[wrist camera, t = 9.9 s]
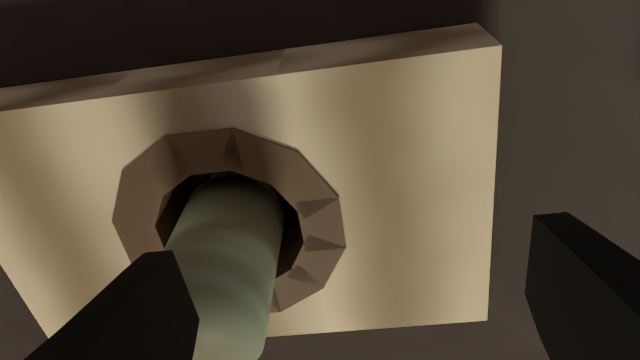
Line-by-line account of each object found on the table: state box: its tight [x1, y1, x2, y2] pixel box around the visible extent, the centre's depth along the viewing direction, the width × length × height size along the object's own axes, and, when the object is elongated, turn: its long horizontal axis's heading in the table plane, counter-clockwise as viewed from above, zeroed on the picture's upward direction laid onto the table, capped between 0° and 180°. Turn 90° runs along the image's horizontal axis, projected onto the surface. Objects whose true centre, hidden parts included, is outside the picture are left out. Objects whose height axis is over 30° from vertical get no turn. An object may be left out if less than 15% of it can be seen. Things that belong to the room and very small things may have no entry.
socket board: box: [0, 23, 502, 338], centre depth 19 cm, size 20×12×3 cm, turn 98°
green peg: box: [163, 171, 284, 360], centre depth 17 cm, size 4×4×8 cm
